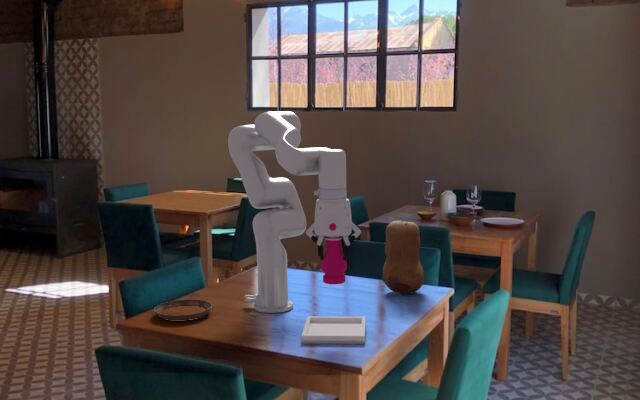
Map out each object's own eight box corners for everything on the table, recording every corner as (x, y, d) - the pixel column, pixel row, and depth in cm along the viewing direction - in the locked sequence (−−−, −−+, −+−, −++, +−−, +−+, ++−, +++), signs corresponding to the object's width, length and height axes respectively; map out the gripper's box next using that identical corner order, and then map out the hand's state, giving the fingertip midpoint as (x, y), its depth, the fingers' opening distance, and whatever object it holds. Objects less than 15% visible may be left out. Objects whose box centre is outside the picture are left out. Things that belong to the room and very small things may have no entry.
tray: (301, 343, 180) (301, 335, 180) (307, 323, 197) (307, 316, 197) (364, 344, 179) (364, 336, 179) (365, 323, 196) (365, 316, 196)
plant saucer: (168, 306, 218) (167, 297, 217) (220, 308, 215) (219, 299, 214) (144, 323, 201) (144, 313, 200) (201, 326, 198) (200, 316, 197)
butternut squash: (420, 287, 234) (421, 217, 231) (426, 298, 221) (426, 223, 218) (381, 288, 235) (380, 217, 231) (384, 298, 221) (383, 224, 218)
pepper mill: (344, 285, 182) (343, 212, 179) (318, 284, 183) (317, 212, 181) (349, 278, 189) (348, 209, 186) (324, 278, 190) (322, 208, 188)
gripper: (300, 196, 180) (301, 262, 182) (364, 196, 178) (364, 262, 181) (302, 193, 187) (304, 256, 190) (364, 192, 186) (365, 256, 188)
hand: (333, 258), depth 185 cm, fingers closed on pepper mill, 5 cm apart
